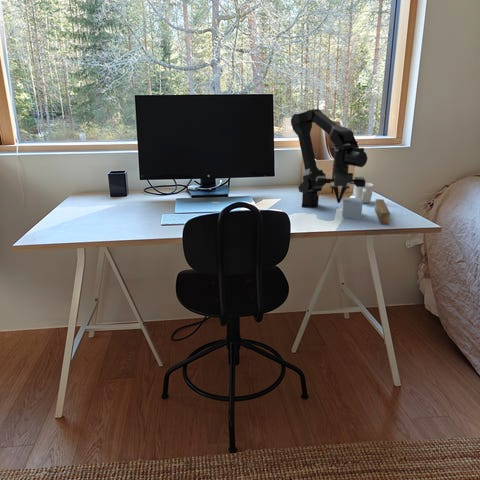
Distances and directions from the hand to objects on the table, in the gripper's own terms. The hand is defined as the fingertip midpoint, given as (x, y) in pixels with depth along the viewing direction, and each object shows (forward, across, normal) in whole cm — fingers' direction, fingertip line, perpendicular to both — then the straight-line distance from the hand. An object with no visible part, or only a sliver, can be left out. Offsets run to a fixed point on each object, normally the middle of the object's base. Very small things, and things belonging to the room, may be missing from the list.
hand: (338, 202), depth 169 cm
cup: (+5, +11, +21) cm, 24 cm away
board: (+5, +17, 0) cm, 18 cm away
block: (+5, +5, 0) cm, 7 cm away
